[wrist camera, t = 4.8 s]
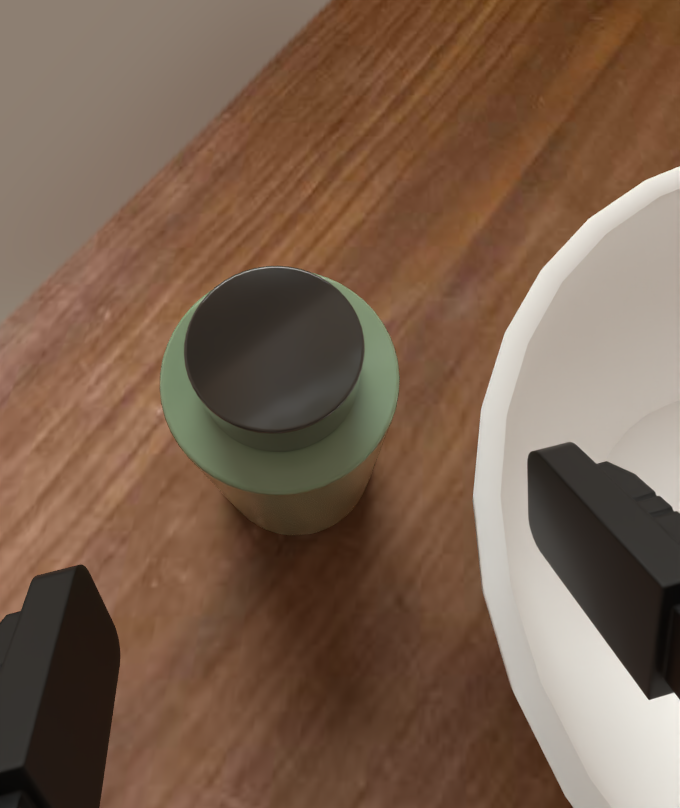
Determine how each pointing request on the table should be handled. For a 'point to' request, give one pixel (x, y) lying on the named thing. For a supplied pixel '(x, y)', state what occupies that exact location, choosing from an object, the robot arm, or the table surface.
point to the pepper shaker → (282, 395)
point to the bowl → (602, 441)
